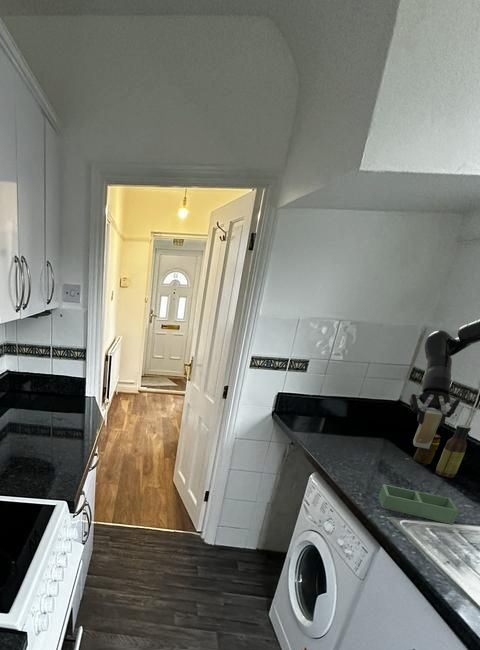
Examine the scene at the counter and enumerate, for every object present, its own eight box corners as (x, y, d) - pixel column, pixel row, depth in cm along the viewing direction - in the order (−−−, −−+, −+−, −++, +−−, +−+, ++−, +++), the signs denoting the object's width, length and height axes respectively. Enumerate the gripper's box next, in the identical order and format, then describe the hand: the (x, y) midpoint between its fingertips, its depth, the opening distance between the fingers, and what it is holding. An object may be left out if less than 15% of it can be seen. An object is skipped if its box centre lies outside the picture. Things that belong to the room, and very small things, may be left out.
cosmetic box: (412, 441, 146) (424, 407, 141) (427, 443, 144) (440, 410, 139) (413, 446, 141) (426, 412, 136) (429, 449, 139) (443, 414, 134)
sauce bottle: (456, 476, 160) (480, 428, 151) (450, 479, 156) (474, 430, 148) (436, 469, 165) (458, 422, 156) (430, 473, 161) (452, 425, 153)
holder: (445, 510, 133) (450, 498, 131) (452, 524, 125) (459, 511, 123) (378, 496, 140) (383, 484, 138) (381, 508, 132) (386, 495, 130)
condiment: (435, 464, 171) (447, 437, 166) (422, 466, 167) (435, 439, 162) (416, 457, 177) (428, 430, 171) (404, 459, 173) (415, 432, 168)
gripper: (415, 372, 143) (408, 414, 138) (467, 378, 137) (462, 422, 132) (407, 385, 149) (401, 425, 144) (457, 391, 143) (451, 433, 138)
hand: (430, 424), depth 138 cm, fingers closed on cosmetic box, 4 cm apart
